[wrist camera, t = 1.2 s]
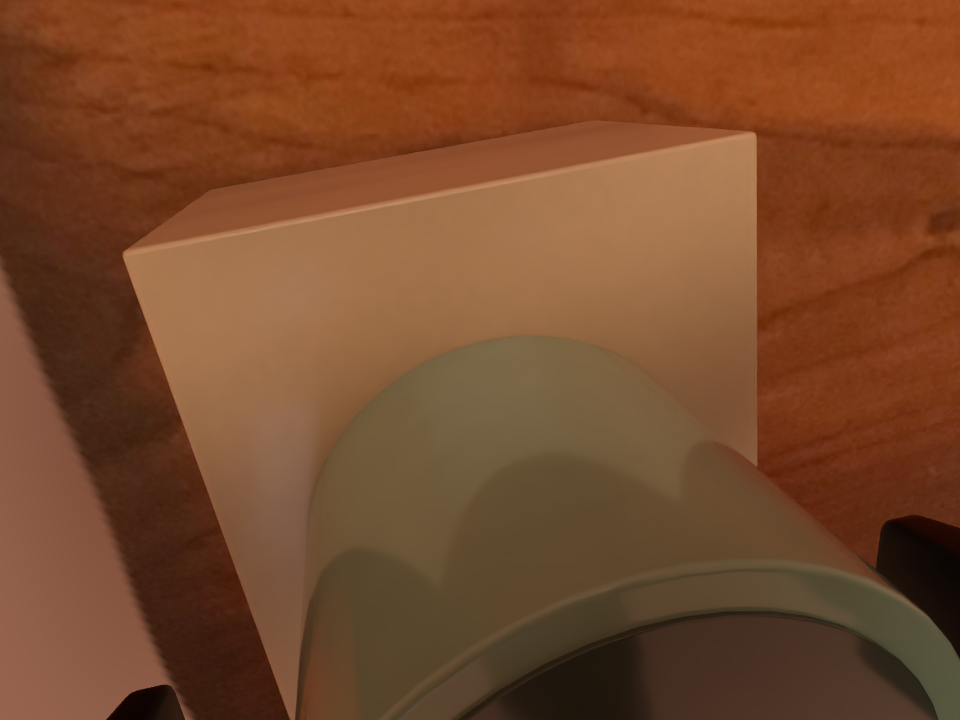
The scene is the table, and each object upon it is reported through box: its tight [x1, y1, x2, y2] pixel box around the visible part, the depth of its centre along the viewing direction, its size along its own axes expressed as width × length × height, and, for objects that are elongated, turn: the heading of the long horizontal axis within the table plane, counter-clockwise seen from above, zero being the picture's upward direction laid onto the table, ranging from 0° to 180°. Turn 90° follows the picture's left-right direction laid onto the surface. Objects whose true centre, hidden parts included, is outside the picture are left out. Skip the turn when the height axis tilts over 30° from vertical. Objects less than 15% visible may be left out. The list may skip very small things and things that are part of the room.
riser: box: [123, 120, 757, 720], centre depth 13 cm, size 10×8×6 cm
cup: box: [295, 336, 960, 720], centre depth 8 cm, size 6×6×5 cm
